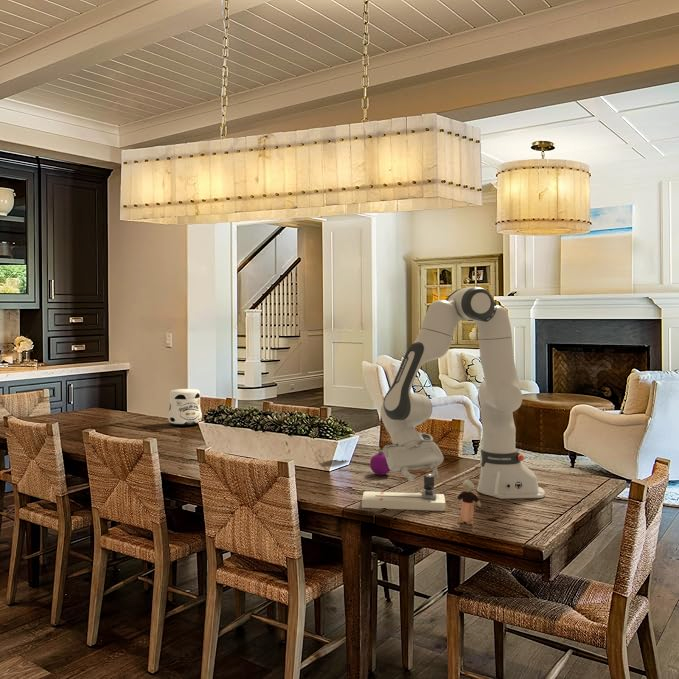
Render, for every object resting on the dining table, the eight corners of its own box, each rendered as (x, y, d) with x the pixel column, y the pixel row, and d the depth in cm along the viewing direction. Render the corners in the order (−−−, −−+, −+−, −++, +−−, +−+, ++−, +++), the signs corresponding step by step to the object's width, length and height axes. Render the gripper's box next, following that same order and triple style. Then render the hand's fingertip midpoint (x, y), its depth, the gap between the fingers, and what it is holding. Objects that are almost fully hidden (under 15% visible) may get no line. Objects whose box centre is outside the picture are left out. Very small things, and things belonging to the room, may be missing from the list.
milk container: (189, 428, 352) (189, 393, 351) (161, 426, 358) (161, 391, 357) (208, 423, 368) (208, 389, 367) (180, 421, 374) (180, 387, 373)
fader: (435, 495, 222) (435, 473, 221) (436, 498, 217) (436, 476, 217) (421, 494, 222) (422, 472, 222) (422, 498, 218) (422, 476, 217)
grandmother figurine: (453, 523, 202) (454, 480, 202) (456, 519, 206) (456, 477, 205) (479, 526, 200) (480, 483, 199) (482, 522, 203) (482, 479, 203)
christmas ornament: (374, 471, 265) (375, 445, 264) (394, 473, 261) (395, 447, 261) (366, 475, 257) (366, 449, 257) (386, 478, 254) (387, 451, 253)
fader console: (443, 501, 224) (444, 493, 224) (445, 510, 214) (445, 502, 214) (363, 498, 227) (364, 491, 227) (361, 507, 217) (361, 499, 217)
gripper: (384, 440, 222) (401, 477, 214) (435, 434, 232) (453, 469, 224) (377, 451, 226) (393, 487, 218) (427, 445, 236) (444, 480, 228)
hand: (424, 478), depth 221 cm, fingers open, 8 cm apart
